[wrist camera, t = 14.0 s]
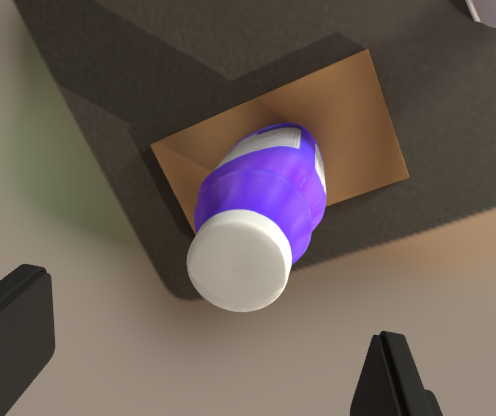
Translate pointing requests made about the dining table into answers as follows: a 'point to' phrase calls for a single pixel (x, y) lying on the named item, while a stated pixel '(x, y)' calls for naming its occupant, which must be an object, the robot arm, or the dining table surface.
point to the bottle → (256, 217)
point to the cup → (483, 11)
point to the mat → (308, 115)
